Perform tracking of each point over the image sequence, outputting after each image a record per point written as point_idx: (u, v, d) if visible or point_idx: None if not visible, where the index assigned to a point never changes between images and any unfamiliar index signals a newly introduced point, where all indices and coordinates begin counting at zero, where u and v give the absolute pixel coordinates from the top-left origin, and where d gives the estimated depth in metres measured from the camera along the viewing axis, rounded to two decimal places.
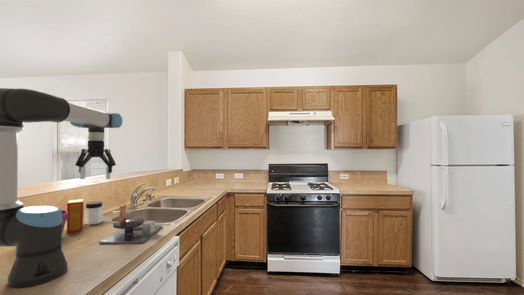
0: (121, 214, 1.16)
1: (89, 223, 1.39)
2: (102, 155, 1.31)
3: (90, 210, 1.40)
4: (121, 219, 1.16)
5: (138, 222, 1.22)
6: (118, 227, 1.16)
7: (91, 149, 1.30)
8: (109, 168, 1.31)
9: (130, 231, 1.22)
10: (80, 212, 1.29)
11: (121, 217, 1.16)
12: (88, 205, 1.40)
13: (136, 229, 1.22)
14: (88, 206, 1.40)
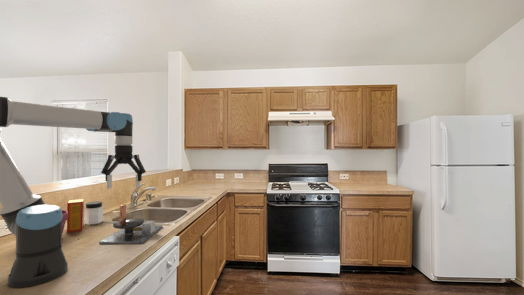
0: (121, 214, 1.16)
1: (89, 223, 1.39)
2: (131, 161, 1.17)
3: (90, 210, 1.40)
4: (121, 219, 1.16)
5: (138, 222, 1.22)
6: (118, 227, 1.16)
7: (118, 155, 1.16)
8: (138, 176, 1.17)
9: (130, 231, 1.22)
10: (80, 212, 1.29)
11: (121, 217, 1.16)
12: (88, 205, 1.40)
13: (136, 229, 1.22)
14: (88, 206, 1.40)
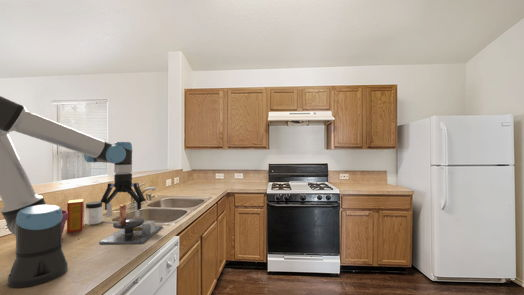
0: (121, 214, 1.16)
1: (89, 223, 1.39)
2: (130, 190, 1.17)
3: (90, 210, 1.40)
4: (121, 219, 1.16)
5: (138, 222, 1.22)
6: (118, 227, 1.16)
7: (118, 183, 1.16)
8: (138, 204, 1.17)
9: (130, 231, 1.22)
10: (80, 212, 1.29)
11: (121, 217, 1.16)
12: (88, 205, 1.40)
13: (136, 229, 1.22)
14: (88, 206, 1.40)
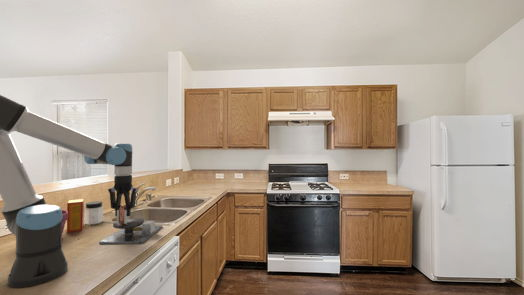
0: (121, 214, 1.16)
1: (89, 223, 1.39)
2: (127, 194, 1.17)
3: (90, 210, 1.40)
4: (121, 219, 1.16)
5: (138, 222, 1.22)
6: (118, 227, 1.16)
7: (117, 184, 1.16)
8: (127, 211, 1.17)
9: (130, 231, 1.22)
10: (80, 212, 1.29)
11: (121, 217, 1.16)
12: (88, 205, 1.40)
13: (136, 229, 1.22)
14: (88, 206, 1.40)
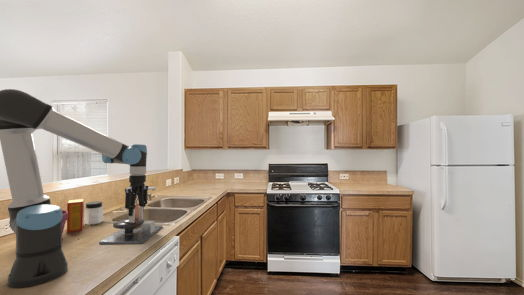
0: (137, 212, 1.19)
1: (89, 223, 1.39)
2: None
3: (90, 210, 1.40)
4: (136, 217, 1.19)
5: None
6: (132, 226, 1.18)
7: (136, 184, 1.19)
8: (142, 207, 1.24)
9: None
10: (80, 212, 1.29)
11: (137, 215, 1.19)
12: (88, 205, 1.40)
13: (137, 227, 1.26)
14: (88, 206, 1.40)
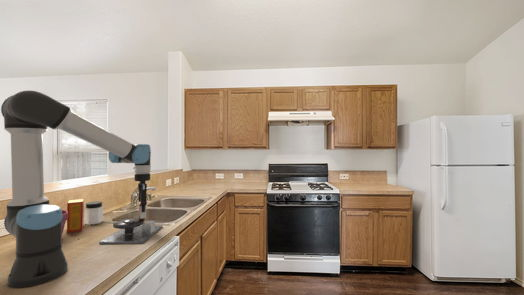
0: None
1: (89, 223, 1.39)
2: None
3: (90, 210, 1.40)
4: None
5: (133, 219, 1.28)
6: (143, 222, 1.24)
7: None
8: None
9: None
10: (80, 212, 1.29)
11: None
12: (88, 205, 1.40)
13: None
14: (88, 206, 1.40)
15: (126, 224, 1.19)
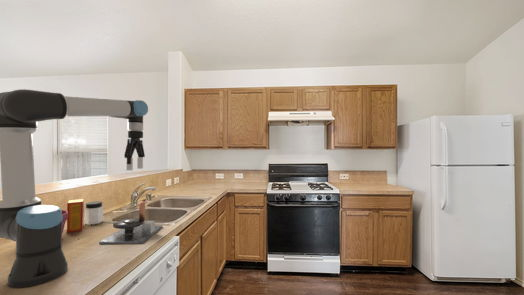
0: (144, 209, 1.26)
1: (89, 223, 1.39)
2: None
3: (90, 210, 1.40)
4: None
5: (133, 219, 1.28)
6: (143, 222, 1.24)
7: (136, 139, 1.30)
8: None
9: None
10: (80, 212, 1.29)
11: (144, 212, 1.26)
12: (88, 205, 1.40)
13: None
14: (88, 206, 1.40)
15: (126, 224, 1.19)
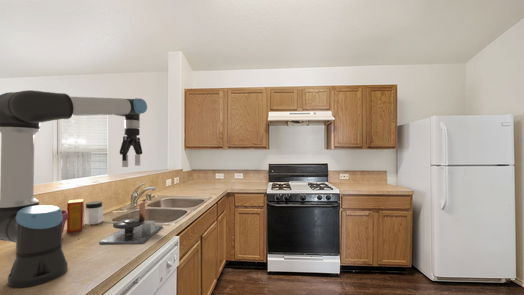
0: (144, 209, 1.26)
1: (89, 223, 1.39)
2: None
3: (90, 210, 1.40)
4: None
5: (133, 219, 1.28)
6: (143, 222, 1.24)
7: (132, 137, 1.32)
8: (139, 155, 1.41)
9: None
10: (80, 212, 1.29)
11: (144, 212, 1.26)
12: (88, 205, 1.40)
13: None
14: (88, 206, 1.40)
15: (126, 224, 1.19)
